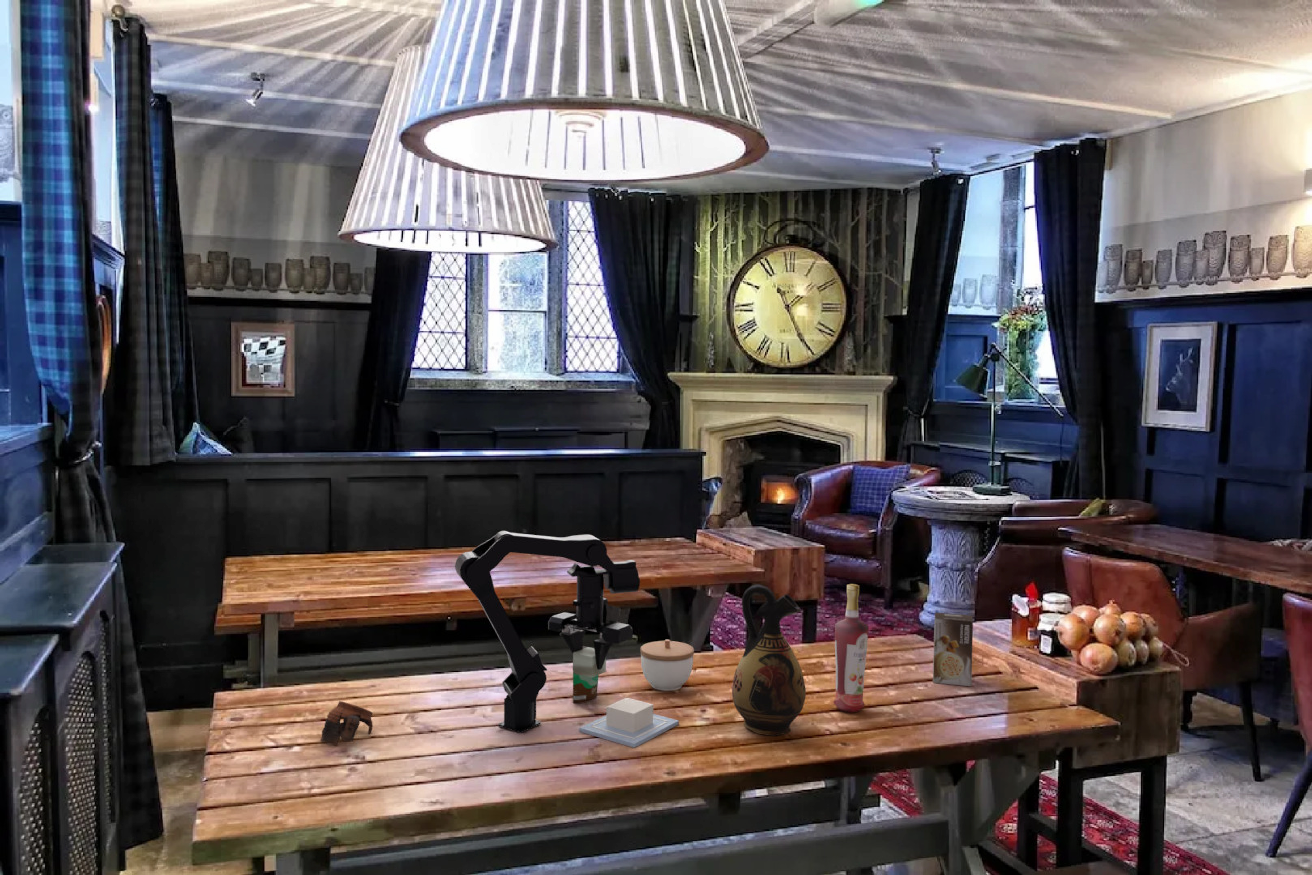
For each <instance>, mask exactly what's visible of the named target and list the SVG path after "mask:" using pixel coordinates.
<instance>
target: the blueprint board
mask: <svg viewBox="0 0 1312 875" xmlns="http://www.w3.org/2000/svg"><path fill="white" fill-rule="evenodd" d="M605 714H606V715H603V716H602V717H600V718H598V719H595V720H594V721H591V722H589V723H587V724H585V725H583V726H580V727H579V730H578V731H579V733H583V734H587V735H590V736H593V737H597V738H600V739H604V740H607V741H610V742H613V743H617V744H621V745H624V746H628V747H631V748H636V747H638V746H640V745H642V744H644V743H646V742H649V741H651V739H653V738H655V737H657V736H660V735H662V734H663V733H665V732H667V731H668V730H670V729H672V728H674V727H676V726H678V725H679V722H680V721H679V720H678V719H674V718H670V717H667V716H663V715H659V714H655V713H654V704H653V703H648V702H646V701H641V700H638V699H633V698H630V697H624V698H622V699H620V700H618V701H615V702H614V703H611V704H610V705H607V706H606V713H605Z"/></svg>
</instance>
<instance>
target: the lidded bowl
mask: <svg viewBox="0 0 1312 875" xmlns="http://www.w3.org/2000/svg"><path fill="white" fill-rule="evenodd" d="M694 654H695V649H694V647H693V646H692V645H690V644H688V643H685V642H682V641H681V642H679V641H673V640H671V639H665V640H658V641H650V642H647V643H644V644H643V645H642V646H640V662H641V664H640V665H641V670H642V674H643V676H644V678H645V679H646V681H647V682H648V683H649V685H650V686H651V687H652V688H653V689H655V690H658V691H664V692H670V691H672V692H673V691H678V690H680V689H681V688H682V685H684V684H685V683H686V682H687V681H688V680H689V678H690V676H691V674H692V670H693V664H694Z"/></svg>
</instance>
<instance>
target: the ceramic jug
mask: <svg viewBox="0 0 1312 875" xmlns="http://www.w3.org/2000/svg"><path fill="white" fill-rule="evenodd" d="M756 596H763V597H764V598H765V599H766V602H764V603H763V604H761V605H760V607H759V608H758V609H757V611H756V615H757V617H761V618H763V624H762V626H761V628H760V629H759V632H757V630H756V625H755V623H754V620H753V616H752V615H753V614H752V612H751V606H750V603H751V602H750V601H751V599H752V598H753V597H756ZM741 608H742V610H741V611H742V614H743V618H744V621H745V624H746V627H747V633H748V638H747V640H746V644H745V649H744V653H743V655H742V656H741V658H740V660H739V663H738V665H737V667H736V669H735V672H734V675H733V680H732V685H731V697H732V701H733V704H734V707H735V709H736V711H737V712H738V714H739V715H740V716H741V717H742V719H743V720H744V723H743V725H744V727H745V728H746V729H748V730H750V731H751V732H754V733H756V734H762V735H765V736H771V737H778V736H780V735H785V734H787V733H789V732H790V731H791V728H790V727H791V725H792V723H793V721H795V720H796V718H797V717H798V716H799V715H800V714H801V712H802V711H803V708H804V705H805V701H806V699H807V698H806V693H807V692H806V690H807V689H806V683H805V678H804V674H803V671H802V668H801V667H802V666H801V664H800V662H799V660H798V659H797V657H796V655H795V653H794V651H793V648H792V647H791V645H790V644H789V642H788V641H787V640H786V637H784V635H783V632H782V630H781V626H780V624H781V623H780V622H781V620H783V619H784V618H785V617H789V616H791V615H795V614H798V613H800V612H802V609H801V607H800V606H799V605H798V604H797V603H796V602H795V600H794V599H793V598H792V596H790V595H789V594H788V593H787V594H784V595H782V596H781V597H780V598H778V599H776V598H775V595H774V592H773V591H772V590H771V589H770V588H769V587H768V586H764V585H762V584H753V585H751V586H749V587H748V588H746V590H745V591H744V593H743V596H742V598H741Z"/></svg>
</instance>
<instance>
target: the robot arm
mask: <svg viewBox="0 0 1312 875" xmlns="http://www.w3.org/2000/svg"><path fill="white" fill-rule="evenodd" d="M510 553H514V554H523V555H524V554H526V555H535V556H536V555H537V556H545V557H546V556H547V557H554V558H555V557H557V558H563V559H567V560H570V561H572V562H574V563H573V565H572V566H571V567H570V568H569V569H567V570H566V573H567V574H568V575H569V576H571V577H572V578H573V577H576V599H574V600H573V601H572V606H575V607H576V613H570V612H562V613H561V612H560V613H558V614H554V615H552V616H551V617H549V620H548V622H547V625H548V627H547V628H548V631H554V632H560V631H561V632H560V633H559V636H560V637H563V640H564V641H565V643H566V645H567V647H568V648H569V650H570V651H571V654H572V655H573V653H574V652H576V651H579V650H582V649H583V646H584V636H585V634H586V633H588V632H589V633H594V634H599V638H598V639H595V640H593V646H594V647H593V648H594V649H595V658H596V665H597V669H598V670H600V669H602V667H603V664H604V661H605V659H606V660H607V656H608V653H609V650H610V649H611V646H612V645H613V644H621V643H624V642H626V641H628V640H630V639H633V638H634V635H633V634H634V633H633V632H634V630H633V627H632V626H631V624H628V623H627V624H626V623H621V622H619V619H620V615H621V608H620V607H617V606H612V605H609V601H608V598H605V597H604V596H605V595H604V593H605V592H604V590H608V591H609V593H610V594H624V593H637V592H638V591H639V590H640V586H641V578H640V577H639V571H638V568H637V562H636V561H635V560H634V559H629V560H628V559H627V560H624V561H613V560H612V559H611V558H610V557H609V555H608V549H607V545H606V544H605V543H604V542H603V541H602V540H601V539H599V538H597V537H595V536H594V535H592V534H578V535H570V536H565V537H557V536H548V535H539V534H537V535H535V534H525V533H517V532H510V531H507V530H501V531H499V532H497V533H496V534H495V535H494V536H492V537H491V538H490V539H488V540H485V541H484V542H482V543H481V544H479V545H478V546H475V548H474V549H472V550H471V551H466V552H463V553H461V554H460V555H459V556H458V557H457V559H456V560H455V564H454V568H455V571H456V574H457V575H458V576H459V578H460V579H461V581H463V583H464V584H466V587H467V588H468V589H469V590H470V591H471V592H472V593H473V595H474V596H475V598H477V600H478V602H479V604H480V606H481V607H482V610H483V611H484V613H485V615H486V617H487V619H488V620H489V622H490V624H491V627H492V628H493V630H494V631H495V634H496V635H497V637H498V639H499V641H500V643H501V644H502V646H503V648H504V650H505V652H506V654H507V660H508V663H509V667H510V669H511V673H509V674H508V676H506V678H505V679H504V680H502V684H501V685H502V686H503V689H504V692H505V693H506V694H507V695H506V697H505V698H503V712H504V713H503V721H501V722H499V723H498V727H501V728H502V729H503V728H505V729H507V730H509V731H510V730H511V731H512V732H513V731H514V732H516V733H524V732H526V731H528V730H531V729H533V728H535V727H537V726H539V725H541V724H542V722H541V720H537V698H538V696H539V693H540V691H541V690H542V689H543V688H544V686H545V685H546V683H547V673H546V671H548V669H547V667H546V666H545V665H544V663H542V659H541V656H540V654H539V652H538V651H537V650H536V649H535V648H534V647H533V646H529V647H528V648H526V647H525V645H524V643H523V641H522V639H521V637H520V636H519V634H518V631H517V630H516V629H515V626H514V625H513V622H512V621H511V619H510V617H509V616H508V613H507V612H506V610H505V608H504V606H503V604H502V602H501V600H500V599H499V597H498V594H497V593H496V590H495V586H494V582H493V578H492V574H491V572H492V571H493V570H494V569H495V568H496V567H497V566H498V565H499V564H500V563H501V562H502V561H503V560H504V558H506V557H507V556H508V555H509V554H510ZM579 564H583V565H585V566H580V565H579ZM597 566H599V567H601V568H600V569H599V568H597V569H595V567H597ZM604 588H605V589H604ZM611 621H612V622H613V623H612V624H609V625H604V624H608V623H610V622H611Z"/></svg>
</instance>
